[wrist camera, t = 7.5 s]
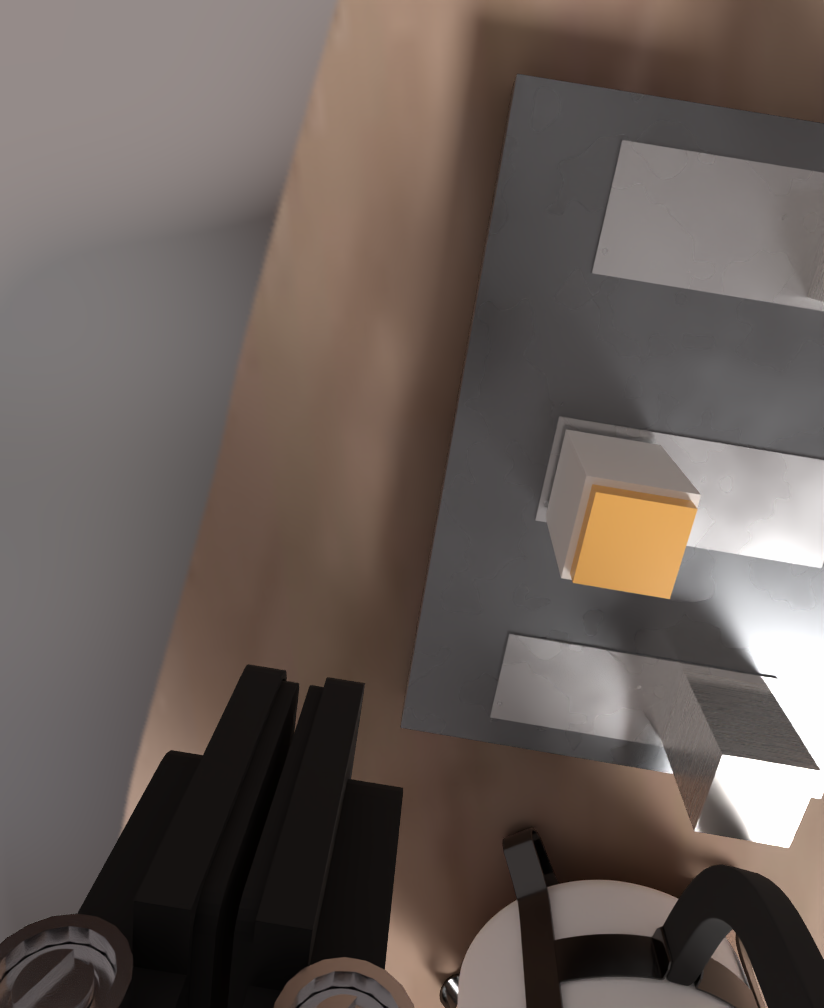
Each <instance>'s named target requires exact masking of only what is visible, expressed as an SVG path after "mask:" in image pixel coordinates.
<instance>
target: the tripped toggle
mask: <svg viewBox="0 0 824 1008" xmlns="http://www.w3.org/2000/svg"><path fill="white" fill-rule="evenodd" d="M700 497H701V494H700V493H699V492H698V490H697V489H696V488H695V487H694V485H693V484H692V483H691V482H690V481H689V479H688V478H687V477H686V476H685V474H684V473H683V472H682V471H681V469H680V468H679V467H678V466H677V465H676V463H675V462H674V461H673V460H672V458H671V457H670V456H669V455H668V454H667V452H666V451H665V450H664V449H663V447H662V446H661V445H657V444H651V443H645V442H639V441H633V440H627V439H621V438H615V437H609V436H603V435H597V434H591V433H585V432H579V431H573V430H567V429H566V431H565V436H564V440H563V444H562V449H561V453H560V457H559V461H558V466H557V470H556V474H555V478H554V483H553V487H552V491H551V496H550V500H549V504H548V508H547V513H546V521H547V525H548V529H549V532H550V536H551V540H552V544H553V548H554V552H555V556H556V560H557V564H558V568H559V572H560V576H561V578H563V579H569V580H572V582H573V583H577V584H583V585H589V586H595V587H600V588H606V589H612V590H618V591H624V592H630V593H636V594H642V595H648V596H654V597H660V598H666V599H670V597H671V593H672V590H673V587H674V584H675V581H676V577H677V574H678V571H679V568H680V564H681V561H682V558H683V555H684V552H685V548H686V545H687V542H688V539H689V536H690V532H691V529H692V526H693V523H694V519H695V516H696V513H697V510H698V509H697V507H698V503H699V500H700Z"/></svg>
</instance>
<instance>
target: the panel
mask: <svg viewBox="0 0 824 1008" xmlns="http://www.w3.org/2000/svg"><path fill="white" fill-rule="evenodd" d="M566 429H567V430H573V431H579V432H585V433H591V434H597V435H603V436H609V437H615V438H621V439H627V440H633V441H639V442H645V443H651V444H657V445H661V446H662V447H663V449H664V450H665V451H666V452H667V454H668V455H669V456H670V457H671V458H672V460H673V461H674V462H675V463H676V465H677V466H678V467H679V468H680V469H681V471H682V472H683V473H684V474H685V476H686V477H687V478H688V479H689V481H690V482H691V483H692V484H693V485H694V487H695V488H696V489H697V490H698V492H699V493H700V494H701V497H700V500H699V503H698V507H697V509H698V510H697V513H696V516H695V519H694V523H693V526H692V529H691V532H690V536H689V539H688V542H687V545H686V548H685V552H684V555H683V558H682V561H681V564H680V568H679V571H678V574H677V577H676V581H675V584H674V587H673V590H672V593H671V597H670V599H666V598H660V597H654V596H648V595H642V594H636V593H630V592H624V591H618V590H612V589H606V588H600V587H595V586H589V585H583V584H577V583H573V582H572V580H569V579H563V578H561V576H560V572H559V568H558V564H557V560H556V556H555V552H554V548H553V544H552V540H551V536H550V532H549V529H548V525H547V521H546V513H547V508H548V504H549V500H550V496H551V491H552V487H553V483H554V478H555V474H556V470H557V466H558V461H559V457H560V453H561V449H562V444H563V440H564V436H565V431H566ZM401 728H406V729H412V730H417V731H423V732H429V733H435V734H441V735H447V736H453V737H459V738H465V739H471V740H476V741H482V742H488V743H494V744H500V745H506V746H512V747H518V748H524V749H530V750H535V751H541V752H547V753H553V754H559V755H565V756H571V757H577V758H583V759H589V760H594V761H600V762H606V763H612V764H618V765H624V766H630V767H636V768H642V769H648V770H653V771H659V772H665V773H671V774H674V777H675V780H676V783H677V785H678V788H679V791H680V794H681V796H682V799H683V802H684V805H685V807H686V810H687V813H688V816H689V818H690V821H691V824H692V827H693V830H694V831H696V832H701V833H707V834H713V835H719V836H725V837H731V838H737V839H743V840H749V841H754V842H760V843H766V844H772V845H778V846H784V847H789V846H790V843H791V841H792V839H793V836H794V834H795V832H796V830H797V827H798V825H799V823H800V820H801V818H802V816H803V813H804V811H805V809H806V806H807V804H808V802H809V800H810V797H813V798H819V799H821V796H822V794H823V792H824V123H818V122H812V121H806V120H799V119H793V118H787V117H781V116H775V115H769V114H762V113H756V112H750V111H744V110H738V109H732V108H725V107H719V106H713V105H707V104H701V103H695V102H688V101H682V100H676V99H670V98H664V97H658V96H651V95H645V94H639V93H633V92H627V91H621V90H614V89H608V88H602V87H596V86H590V85H584V84H577V83H571V82H565V81H559V80H553V79H547V78H540V77H534V76H528V75H522V74H517V76H516V78H515V81H514V84H513V89H512V94H511V100H510V106H509V111H508V117H507V123H506V128H505V134H504V139H503V145H502V151H501V156H500V162H499V168H498V173H497V179H496V184H495V190H494V196H493V201H492V207H491V213H490V218H489V224H488V230H487V235H486V241H485V246H484V252H483V258H482V263H481V269H480V275H479V280H478V286H477V292H476V297H475V303H474V308H473V314H472V320H471V325H470V331H469V337H468V342H467V348H466V354H465V359H464V365H463V370H462V376H461V382H460V387H459V393H458V399H457V404H456V410H455V416H454V421H453V427H452V432H451V438H450V444H449V449H448V455H447V461H446V466H445V472H444V477H443V483H442V489H441V494H440V500H439V506H438V511H437V517H436V523H435V528H434V534H433V539H432V545H431V551H430V556H429V562H428V568H427V573H426V579H425V585H424V590H423V596H422V601H421V607H420V613H419V618H418V624H417V630H416V635H415V641H414V647H413V652H412V658H411V663H410V669H409V675H408V680H407V686H406V692H405V698H404V705H403V713H402V721H401Z"/></svg>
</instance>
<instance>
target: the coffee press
mask: <svg viewBox="0 0 824 1008" xmlns="http://www.w3.org/2000/svg"><path fill="white" fill-rule="evenodd" d="M503 850H504V854H505V857H506V861H507V864H508V868H509V871H510V874H511V878H512V881H513V885H514V889H515V893H516V897H517V900H516V901H514V902H512V903H511V904H509V905H508V906H506V907H505V908H503V909H502V910H501V911H499V912H498V913H497V914H496V915H495V916H493V917H492V918H491V919H490V920H489V921H488V922H487V923H486V924H485V925H484V927H483V928H482V929H481V930H480V931H479V933H478V934H477V935H476V937H475V938H474V940H473V942H472V943H471V945H470V947H469V949H468V951H467V953H466V955H465V958H464V960H463V963H462V967H461V971H460V974H455V975H453V976H451V977H449V978H448V979H447V980H446V981H445V982H444V984H443V985H442V987H441V990H440V1001H441V1003H442V1004H443V1006H444V1007H445V1008H456V1007H457V1008H765V1005H764V1002H763V1000H762V997H761V994H760V991H759V988H758V985H757V982H756V979H755V976H754V973H753V969H754V972H755V974H756V977H757V980H758V982H759V985H760V987H761V990H762V993H763V995H764V998H765V1001H766V1003H767V1006H768V1008H824V959H823V957H822V955H821V953H820V951H819V949H818V948H817V946H816V944H815V942H814V940H813V938H812V936H811V934H810V932H809V930H808V929H807V927H806V925H805V923H804V922H803V920H802V918H801V916H800V915H799V913H798V911H797V910H796V908H795V907H794V906H793V904H792V903H791V901H790V900H789V898H788V897H787V896H786V895H785V894H784V892H783V891H782V890H781V889H780V888H779V887H778V886H777V885H775V884H774V883H773V882H772V881H771V880H769V879H768V878H766V877H764V876H762V875H760V874H758V873H754V872H750V871H747V870H743V869H739V868H735V867H731V866H727V865H714V866H711V867H709V868H707V869H705V870H703V871H702V872H701V873H700V874H698V875H697V876H696V877H695V878H694V879H693V881H692V882H691V883H690V884H689V885H688V886H687V888H686V889H685V891H684V892H683V893H682V895H681V896H680V898H679V899H678V898H676V897H673V896H671V895H669V894H666V893H664V892H661V891H658V890H655V889H652V888H649V887H645V886H641V885H637V884H633V883H627V882H621V881H613V880H581V881H573V882H567V883H561V884H560V883H559V881H558V879H557V877H556V875H555V873H554V871H553V868H552V866H551V863H550V861H549V858H548V855H547V853H546V850H545V847H544V845H543V842H542V840H541V838H540V836H539V834H538V832H537V831H536V829H535V828H533V827H531V828H528V829H526V830H523V831H520V832H518V833H515V834H513V835H510V836H507V837H505V838H503ZM732 929H733V930H734V931H735V932H736V946H737V950H738V954H739V957H740V960H741V963H742V966H743V968H742V966H741V963H740V961H739V959H738V957H737V955H736V953H735V951H734V949H733V948H732V946H731V944H730V943H729V941H728V940H727V939H726V937H725V936H726V935H727V934H728V933H729V932H730V931H731V930H732ZM751 964H752V965H751ZM752 967H753V969H752ZM743 969H744V970H743ZM744 972H745V973H744ZM457 1004H458V1006H457Z"/></svg>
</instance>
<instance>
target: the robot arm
mask: <svg viewBox="0 0 824 1008" xmlns="http://www.w3.org/2000/svg"><path fill="white" fill-rule="evenodd" d="M286 679H287V674H286V670H279V669H273V668H267V667H261V666H255V665H247V666H246V667H245V669H244V671H243V673H242V675H241V677H240V679H239V681H238V683H237V686H236V688H235V690H234V692H233V694H232V696H231V698H230V700H229V702H228V704H227V706H226V709H225V711H224V713H223V715H222V717H221V719H220V721H219V723H218V725H217V727H216V729H215V731H214V734H213V736H212V738H211V740H210V742H209V744H208V746H207V748H206V750H205V752H204V754H203V755H197V754H191V753H185V752H179V751H173V750H171V751H169V752H168V753H166V755H165V756H164V758H163V759H162V761H161V762H160V764H159V766H158V768H157V770H156V772H155V773H154V775H153V777H152V779H151V781H150V782H149V784H148V786H147V788H146V790H145V792H144V793H143V795H142V797H141V799H140V801H139V802H138V804H137V806H136V808H135V810H134V812H133V813H132V815H131V817H130V819H129V821H128V822H127V824H126V826H125V828H124V830H123V832H122V833H121V835H120V837H119V839H118V841H117V843H116V844H115V846H114V848H113V850H112V852H111V854H110V855H109V857H108V859H107V861H106V863H105V864H104V866H103V868H102V870H101V872H100V873H99V875H98V877H97V879H96V881H95V883H94V884H93V886H92V888H91V890H90V892H89V893H88V895H87V897H86V899H85V901H84V903H83V904H82V906H81V908H80V910H79V912H78V913H75V914H66V915H56V916H51V917H48V918H45V919H42V920H39V921H36V922H34V923H31V924H28V925H27V926H25V927H23V928H22V929H20V930H18V931H17V932H15V933H13V934H12V935H10V936H9V937H7V938H6V939H5V940H4V941H3V942H1V943H0V1008H414V1004H413V1003H412V1001H411V999H410V998H409V996H408V994H407V993H406V991H405V989H404V988H403V986H402V985H401V984H400V983H399V982H398V981H397V980H396V979H395V978H394V977H392V976H391V975H390V974H389V973H388V972H387V971H386V970H385V961H386V952H387V942H388V932H389V923H390V913H391V903H392V894H393V884H394V874H395V865H396V855H397V845H398V836H399V826H400V816H401V807H402V796H403V788H400V787H394V786H388V785H382V784H376V783H370V782H364V781H357V780H351V775H352V768H353V761H354V754H355V748H356V741H357V734H358V727H359V721H360V714H361V707H362V700H363V694H364V686H365V683H360V682H354V681H347V680H341V679H335V678H329V677H327V679H326V681H325V685H324V687H319V686H313V685H310V687H309V690H308V693H307V696H306V699H305V702H304V705H303V708H302V711H301V714H300V717H299V720H298V724H297V727H296V730H295V721H296V712H297V703H298V694H299V683H294V682H288V681H286ZM294 730H295V733H294Z"/></svg>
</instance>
